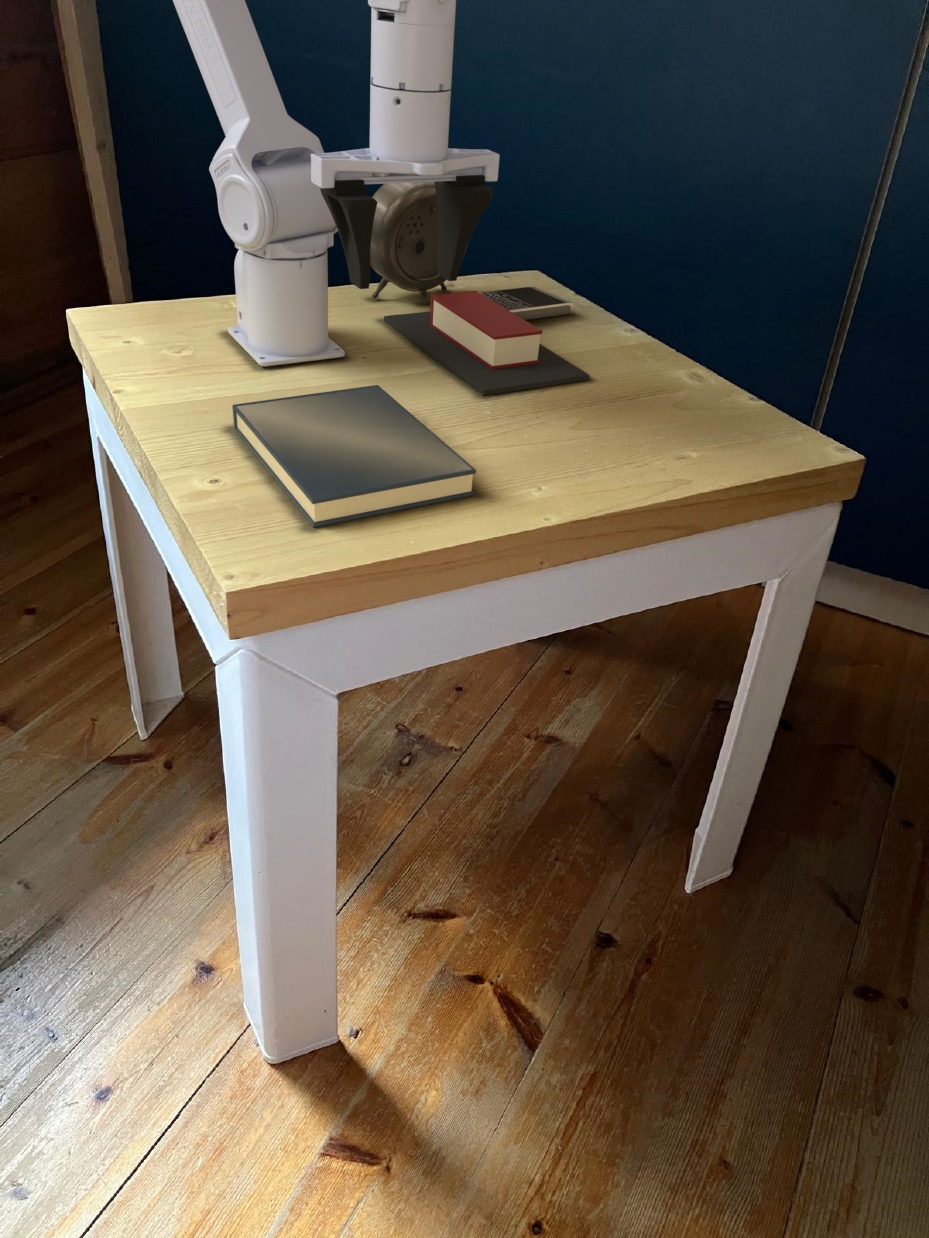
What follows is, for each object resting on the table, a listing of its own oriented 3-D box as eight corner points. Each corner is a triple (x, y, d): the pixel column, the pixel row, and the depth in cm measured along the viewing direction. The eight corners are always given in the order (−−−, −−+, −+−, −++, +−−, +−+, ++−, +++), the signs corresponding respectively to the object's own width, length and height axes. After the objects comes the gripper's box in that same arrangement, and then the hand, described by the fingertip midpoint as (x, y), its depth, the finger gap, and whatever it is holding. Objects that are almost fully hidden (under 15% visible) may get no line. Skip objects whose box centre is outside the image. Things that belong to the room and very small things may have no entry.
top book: (429, 325, 96) (431, 295, 94) (474, 321, 98) (476, 290, 96) (491, 369, 87) (494, 336, 85) (538, 363, 89) (542, 330, 88)
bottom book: (233, 429, 75) (232, 404, 73) (377, 408, 80) (377, 384, 79) (313, 527, 63) (312, 500, 62) (473, 495, 69) (476, 469, 67)
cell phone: (459, 308, 100) (461, 294, 100) (537, 298, 107) (539, 285, 106) (499, 326, 97) (501, 312, 96) (577, 315, 103) (579, 302, 102)
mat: (383, 321, 97) (383, 316, 97) (479, 310, 102) (479, 306, 102) (483, 395, 83) (483, 390, 83) (588, 380, 88) (589, 374, 88)
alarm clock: (446, 285, 108) (455, 123, 99) (472, 300, 105) (485, 133, 95) (358, 296, 103) (359, 126, 94) (382, 311, 100) (387, 136, 90)
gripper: (337, 95, 63) (338, 305, 71) (527, 95, 70) (508, 288, 77) (298, 79, 68) (302, 277, 76) (478, 81, 74) (465, 263, 82)
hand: (404, 281), depth 77 cm, fingers open, 7 cm apart
